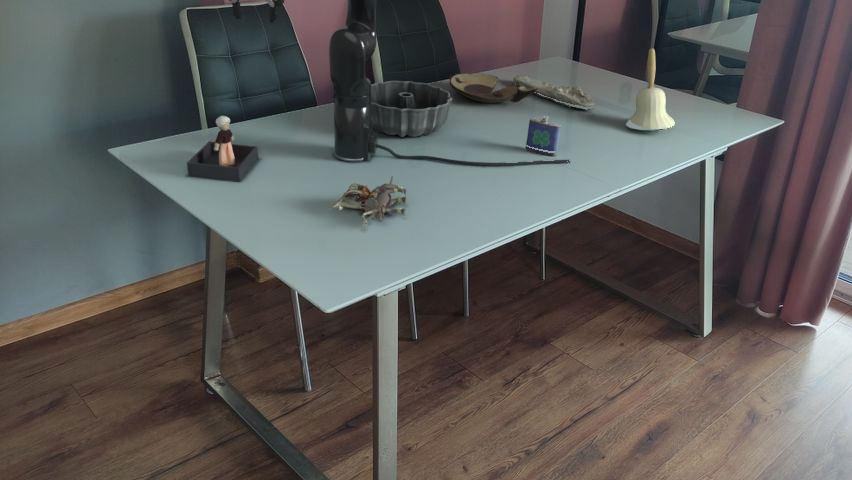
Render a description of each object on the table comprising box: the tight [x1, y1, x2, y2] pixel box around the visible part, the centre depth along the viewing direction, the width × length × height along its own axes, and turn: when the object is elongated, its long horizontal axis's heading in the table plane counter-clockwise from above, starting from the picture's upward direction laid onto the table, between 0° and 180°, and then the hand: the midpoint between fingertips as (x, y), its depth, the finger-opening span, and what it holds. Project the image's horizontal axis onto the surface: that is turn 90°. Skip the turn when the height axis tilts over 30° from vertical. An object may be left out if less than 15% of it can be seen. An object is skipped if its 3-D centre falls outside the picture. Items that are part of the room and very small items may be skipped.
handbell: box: [629, 47, 676, 130], centre depth 236 cm, size 15×15×25 cm
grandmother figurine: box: [214, 115, 235, 167], centre depth 181 cm, size 8×4×13 cm, turn 177°
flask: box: [525, 115, 562, 157], centre depth 212 cm, size 9×3×11 cm, turn 68°
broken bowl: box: [448, 72, 538, 104], centre depth 247 cm, size 22×30×8 cm
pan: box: [186, 141, 260, 183], centre depth 184 cm, size 12×14×3 cm
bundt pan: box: [371, 80, 453, 138], centre depth 218 cm, size 26×26×10 cm
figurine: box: [329, 175, 407, 228], centre depth 171 cm, size 20×6×17 cm
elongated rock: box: [512, 75, 596, 109], centre depth 259 cm, size 35×5×10 cm
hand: (255, 20), depth 190 cm, fingers open, 8 cm apart
